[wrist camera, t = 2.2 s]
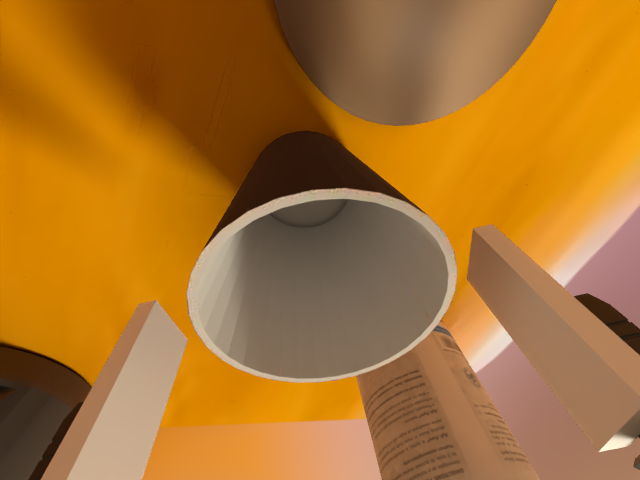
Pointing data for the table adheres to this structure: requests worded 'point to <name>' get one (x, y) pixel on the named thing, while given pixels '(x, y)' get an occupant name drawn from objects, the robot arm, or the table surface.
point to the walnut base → (408, 51)
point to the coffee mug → (319, 268)
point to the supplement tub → (438, 418)
